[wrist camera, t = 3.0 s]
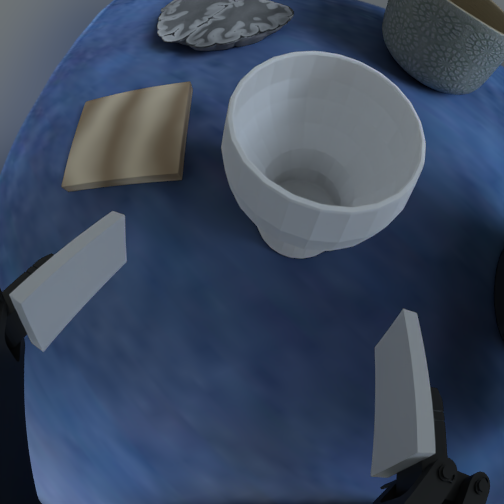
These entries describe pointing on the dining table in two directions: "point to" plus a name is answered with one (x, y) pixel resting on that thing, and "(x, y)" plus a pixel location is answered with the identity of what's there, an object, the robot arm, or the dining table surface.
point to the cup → (320, 151)
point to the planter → (446, 41)
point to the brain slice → (220, 22)
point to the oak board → (130, 138)
